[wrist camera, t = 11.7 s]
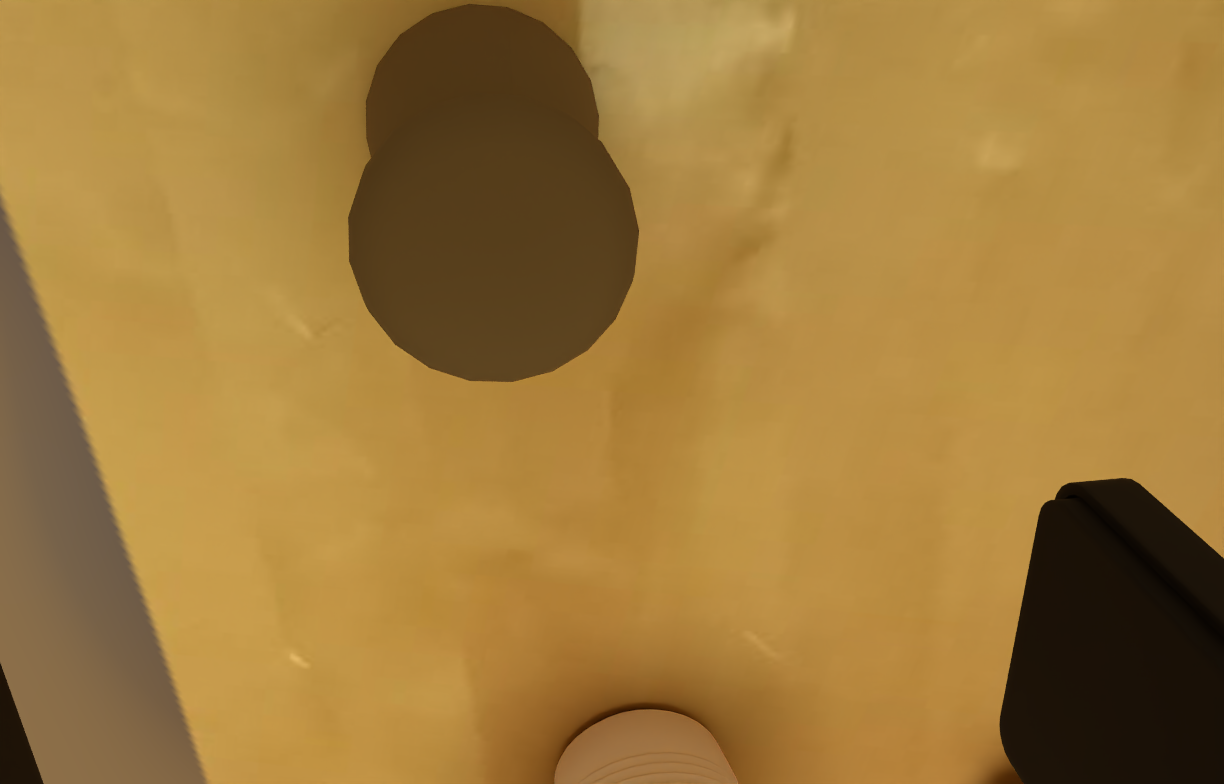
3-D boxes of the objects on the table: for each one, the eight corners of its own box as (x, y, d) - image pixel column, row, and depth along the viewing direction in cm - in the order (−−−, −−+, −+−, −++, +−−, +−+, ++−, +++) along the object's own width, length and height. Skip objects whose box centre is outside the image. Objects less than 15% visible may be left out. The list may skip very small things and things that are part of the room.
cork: (525, 276, 29) (560, 483, 19) (324, 168, 27) (249, 339, 17) (642, 85, 27) (745, 211, 17) (435, -46, 25) (420, 11, 15)
